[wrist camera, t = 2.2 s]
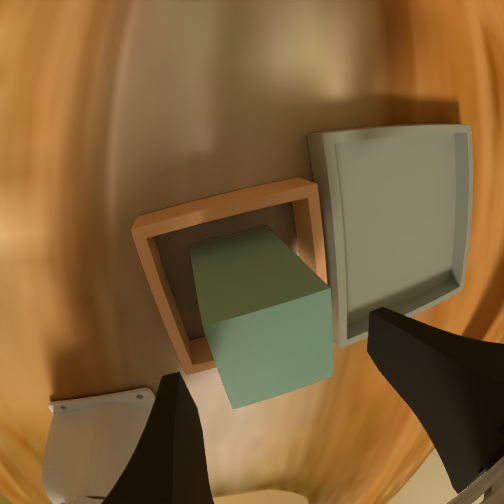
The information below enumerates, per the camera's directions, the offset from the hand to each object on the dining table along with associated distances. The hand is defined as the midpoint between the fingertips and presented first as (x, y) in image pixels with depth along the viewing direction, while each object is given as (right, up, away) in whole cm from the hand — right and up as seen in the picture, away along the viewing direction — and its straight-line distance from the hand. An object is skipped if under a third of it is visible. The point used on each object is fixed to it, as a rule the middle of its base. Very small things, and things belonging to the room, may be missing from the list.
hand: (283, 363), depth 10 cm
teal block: (-2, +3, +8) cm, 9 cm away
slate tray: (+9, +6, +10) cm, 15 cm away
